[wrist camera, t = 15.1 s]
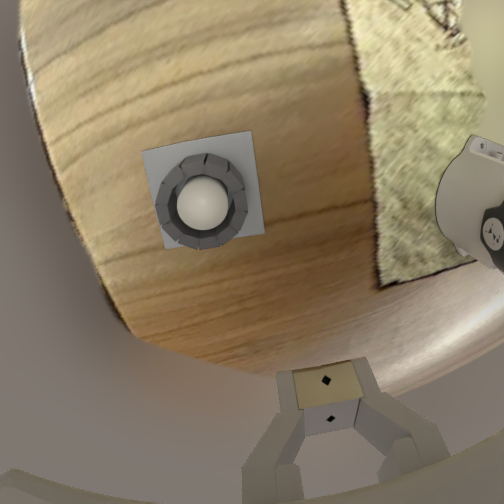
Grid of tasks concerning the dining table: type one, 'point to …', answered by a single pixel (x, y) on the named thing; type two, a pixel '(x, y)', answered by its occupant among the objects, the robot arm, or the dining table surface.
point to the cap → (203, 202)
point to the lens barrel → (215, 165)
